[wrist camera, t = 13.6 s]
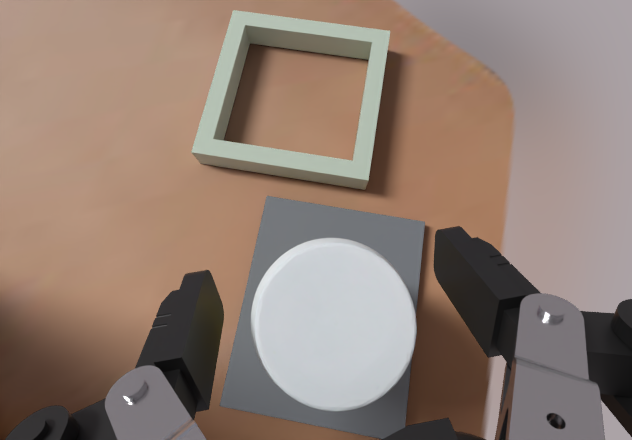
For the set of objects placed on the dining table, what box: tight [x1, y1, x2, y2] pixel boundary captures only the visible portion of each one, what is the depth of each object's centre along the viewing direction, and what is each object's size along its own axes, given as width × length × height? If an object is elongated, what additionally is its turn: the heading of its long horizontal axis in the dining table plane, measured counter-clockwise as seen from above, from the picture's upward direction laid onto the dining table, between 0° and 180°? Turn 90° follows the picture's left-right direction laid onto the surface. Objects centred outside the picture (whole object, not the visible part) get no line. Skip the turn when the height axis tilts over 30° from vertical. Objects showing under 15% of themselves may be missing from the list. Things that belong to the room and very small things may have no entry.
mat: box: [220, 196, 425, 439], centre depth 18 cm, size 11×9×1 cm
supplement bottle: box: [251, 238, 417, 412], centre depth 13 cm, size 5×5×10 cm
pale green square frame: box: [192, 10, 390, 190], centre depth 20 cm, size 10×10×2 cm
